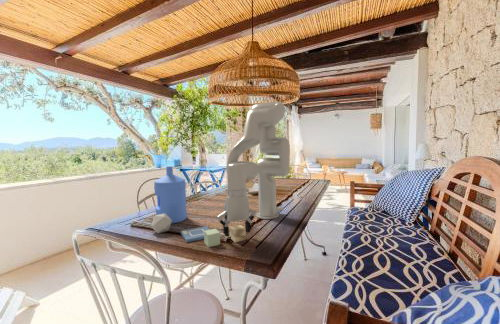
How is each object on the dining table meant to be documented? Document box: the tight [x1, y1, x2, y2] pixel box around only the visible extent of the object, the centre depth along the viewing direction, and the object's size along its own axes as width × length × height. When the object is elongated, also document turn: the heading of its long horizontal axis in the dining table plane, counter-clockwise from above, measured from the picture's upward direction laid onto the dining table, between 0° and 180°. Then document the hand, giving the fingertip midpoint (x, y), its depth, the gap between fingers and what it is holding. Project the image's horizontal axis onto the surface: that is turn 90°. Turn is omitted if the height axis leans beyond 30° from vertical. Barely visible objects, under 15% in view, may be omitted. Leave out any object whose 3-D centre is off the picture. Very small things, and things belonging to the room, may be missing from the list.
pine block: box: [229, 224, 247, 243], centre depth 103 cm, size 5×5×5 cm
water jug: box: [153, 166, 188, 225], centre depth 128 cm, size 16×16×28 cm
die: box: [150, 213, 172, 234], centre depth 113 cm, size 8×9×10 cm
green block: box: [203, 228, 221, 248], centre depth 99 cm, size 5×5×5 cm
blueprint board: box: [180, 225, 211, 243], centre depth 108 cm, size 12×11×1 cm
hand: (237, 233), depth 103 cm, fingers open, 9 cm apart
